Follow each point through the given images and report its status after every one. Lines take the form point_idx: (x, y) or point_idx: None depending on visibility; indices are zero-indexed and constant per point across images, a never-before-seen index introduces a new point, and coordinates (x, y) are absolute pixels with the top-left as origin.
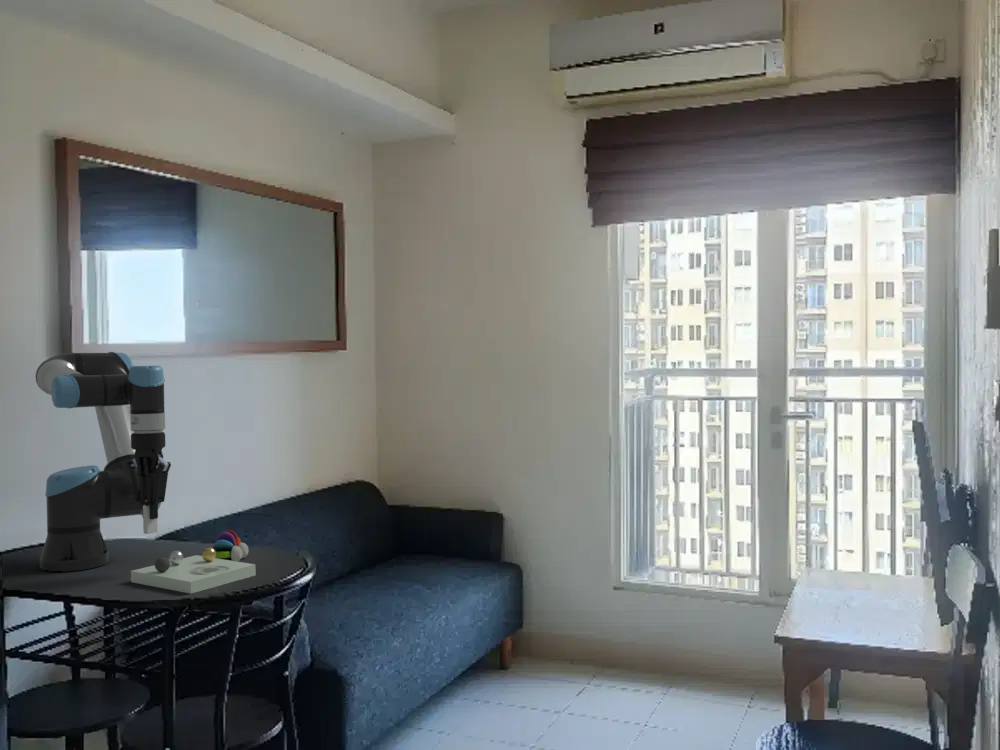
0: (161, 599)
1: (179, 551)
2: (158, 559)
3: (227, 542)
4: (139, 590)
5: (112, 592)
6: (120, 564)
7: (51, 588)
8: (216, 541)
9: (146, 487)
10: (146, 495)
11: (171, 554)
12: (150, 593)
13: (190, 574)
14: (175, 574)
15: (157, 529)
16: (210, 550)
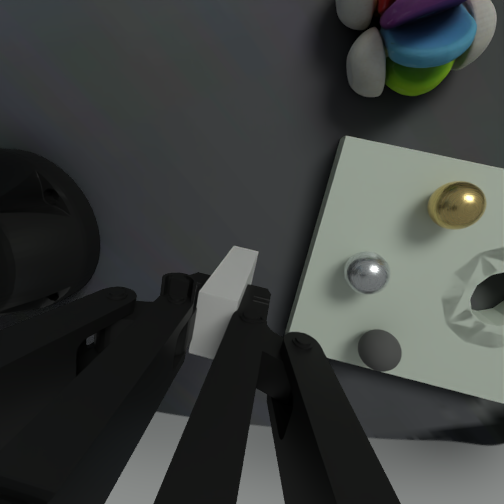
0: (446, 426)
1: (382, 275)
2: (378, 369)
3: (468, 45)
4: (352, 380)
5: None
6: (122, 192)
7: (167, 396)
8: (415, 58)
9: (140, 421)
10: (170, 371)
11: (364, 293)
12: (393, 395)
13: (470, 347)
14: (427, 355)
15: (257, 255)
16: (479, 218)
